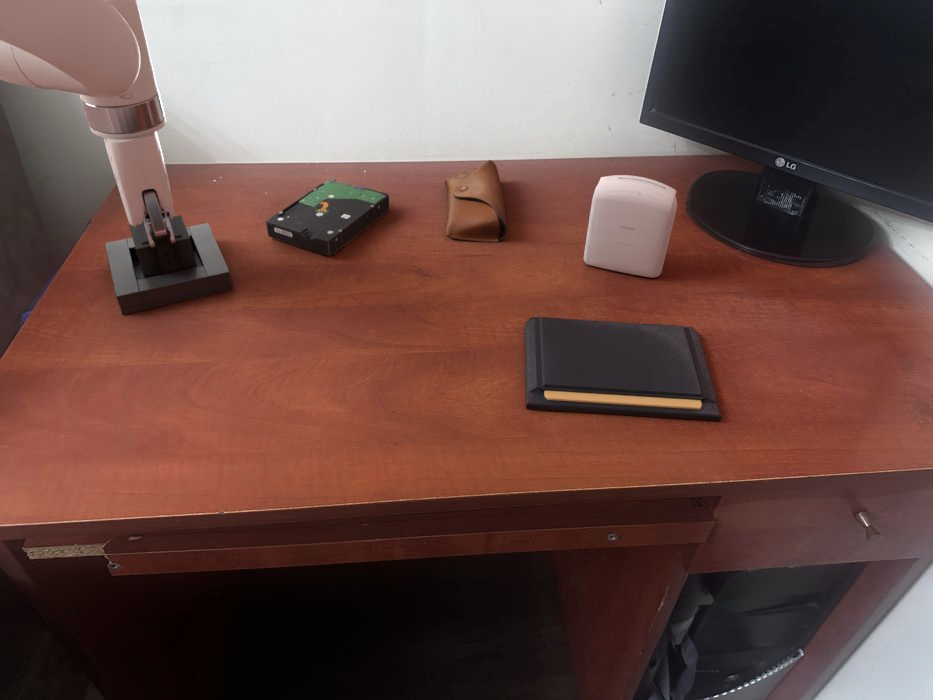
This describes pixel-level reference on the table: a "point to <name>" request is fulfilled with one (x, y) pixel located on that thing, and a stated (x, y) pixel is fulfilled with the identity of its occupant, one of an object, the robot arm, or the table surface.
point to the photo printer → (630, 225)
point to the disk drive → (328, 216)
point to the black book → (618, 369)
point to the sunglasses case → (476, 205)
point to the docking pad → (172, 286)
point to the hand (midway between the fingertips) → (165, 256)
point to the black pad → (142, 241)
